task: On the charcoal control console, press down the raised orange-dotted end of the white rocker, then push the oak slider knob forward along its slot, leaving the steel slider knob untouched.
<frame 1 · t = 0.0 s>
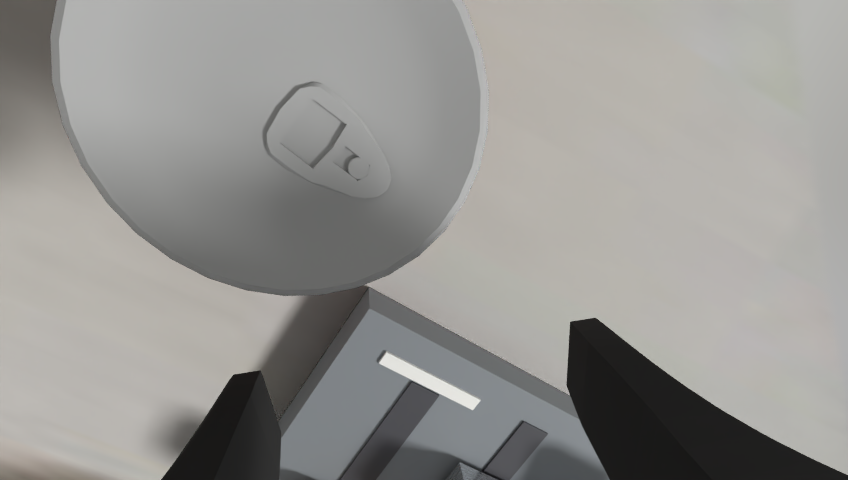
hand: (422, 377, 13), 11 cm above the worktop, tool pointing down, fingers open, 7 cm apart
canned food: (323, 74, 20), on the worktop
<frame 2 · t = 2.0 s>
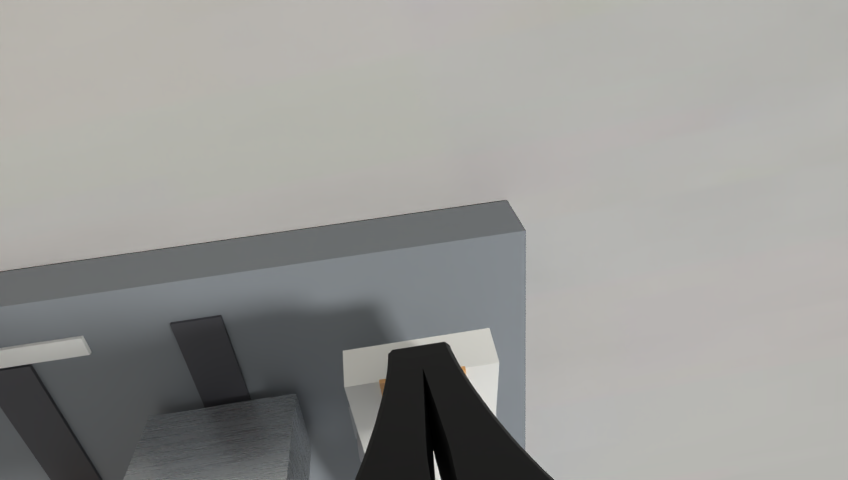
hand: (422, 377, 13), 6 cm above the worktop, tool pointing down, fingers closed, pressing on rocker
console: (256, 407, 20), on the worktop
rocker: (428, 436, 15), point 4 cm above the worktop, hinge at -13.9°, touching gripper
steel slider: (223, 475, 15), point 4 cm above the worktop, slide at 0.0 cm
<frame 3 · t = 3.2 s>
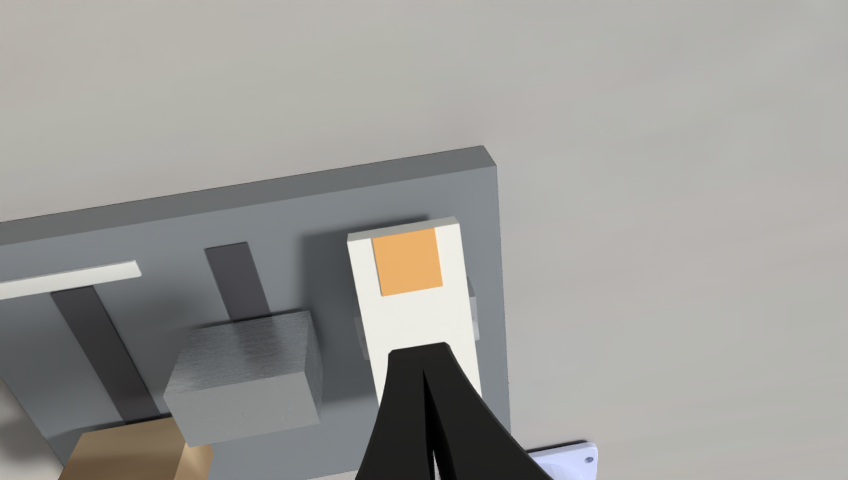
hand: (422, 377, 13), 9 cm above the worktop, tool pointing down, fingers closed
oak slider: (137, 477, 21), point 4 cm above the worktop, slide at 0.0 cm
console: (275, 334, 23), on the worktop
rocker: (420, 338, 19), point 4 cm above the worktop, hinge at 13.7°
steel slider: (252, 375, 19), point 4 cm above the worktop, slide at 0.0 cm
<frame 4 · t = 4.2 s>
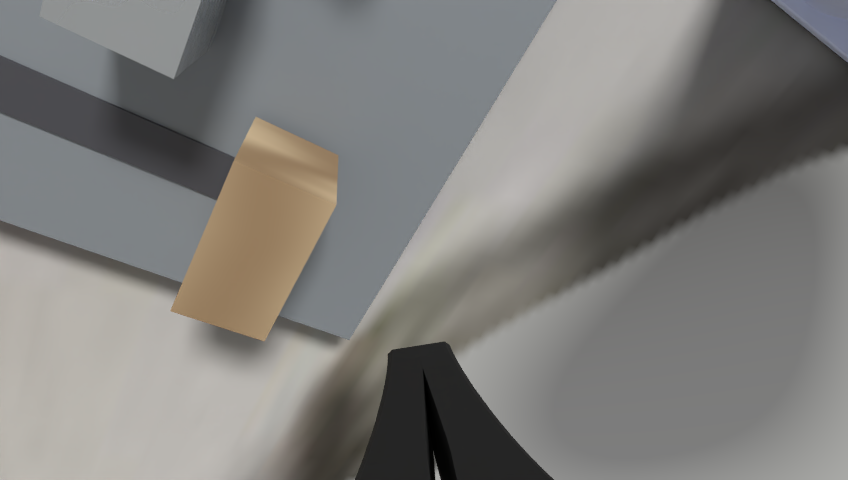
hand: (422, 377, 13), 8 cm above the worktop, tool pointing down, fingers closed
oak slider: (260, 227, 14), point 4 cm above the worktop, slide at 0.0 cm
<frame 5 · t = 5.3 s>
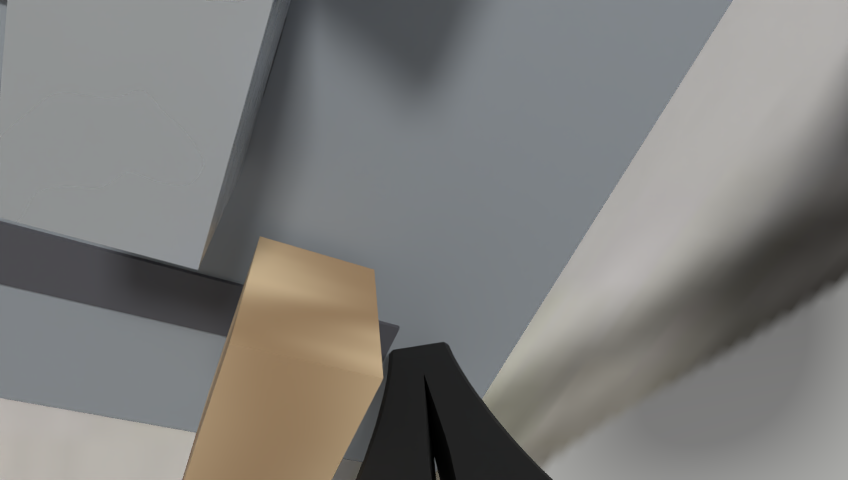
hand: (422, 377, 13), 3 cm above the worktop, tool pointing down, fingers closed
oak slider: (279, 387, 10), point 4 cm above the worktop, slide at 0.9 cm, touching gripper
console: (300, 44, 11), on the worktop
steel slider: (170, 52, 7), point 4 cm above the worktop, slide at 0.0 cm
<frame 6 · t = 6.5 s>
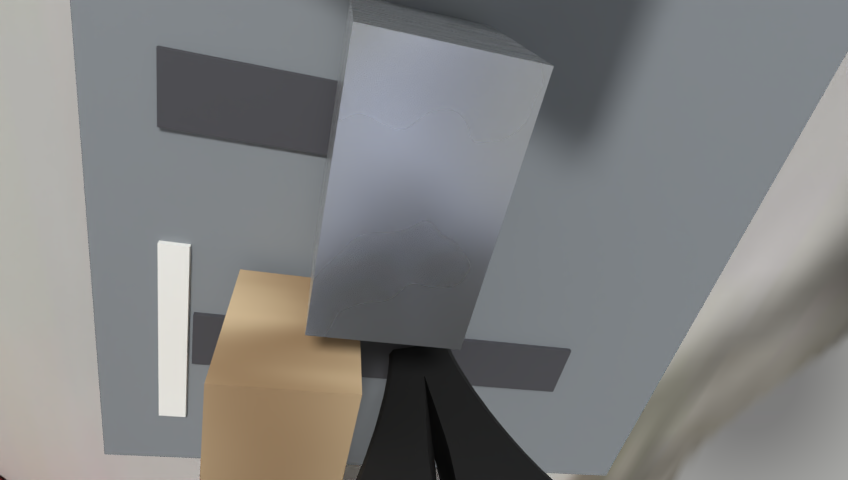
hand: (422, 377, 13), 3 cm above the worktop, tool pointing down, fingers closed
oak slider: (282, 411, 11), point 4 cm above the worktop, slide at 5.4 cm, touching gripper
console: (452, 113, 12), on the worktop
steel slider: (404, 169, 9), point 4 cm above the worktop, slide at 0.0 cm
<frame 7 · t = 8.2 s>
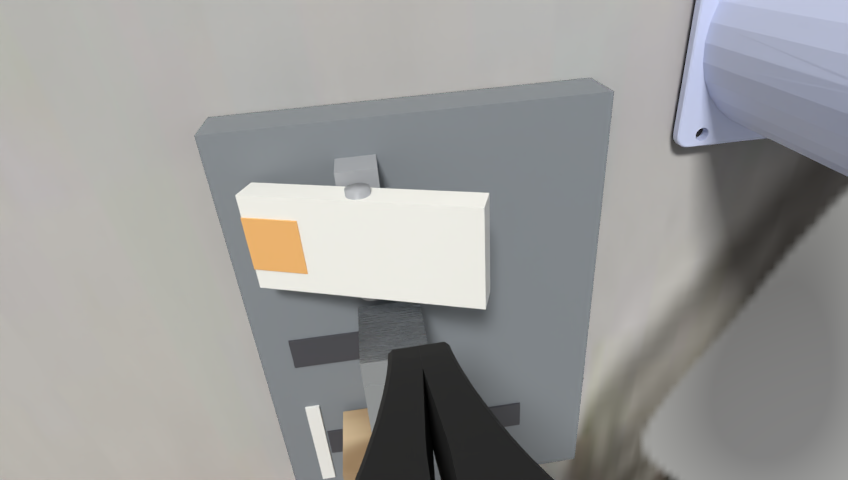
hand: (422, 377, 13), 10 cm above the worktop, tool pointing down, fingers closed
oak slider: (377, 471, 23), point 4 cm above the worktop, slide at 5.4 cm
console: (422, 306, 24), on the worktop
rocker: (364, 244, 17), point 4 cm above the worktop, hinge at 21.4°
steel slider: (397, 373, 21), point 4 cm above the worktop, slide at 0.0 cm
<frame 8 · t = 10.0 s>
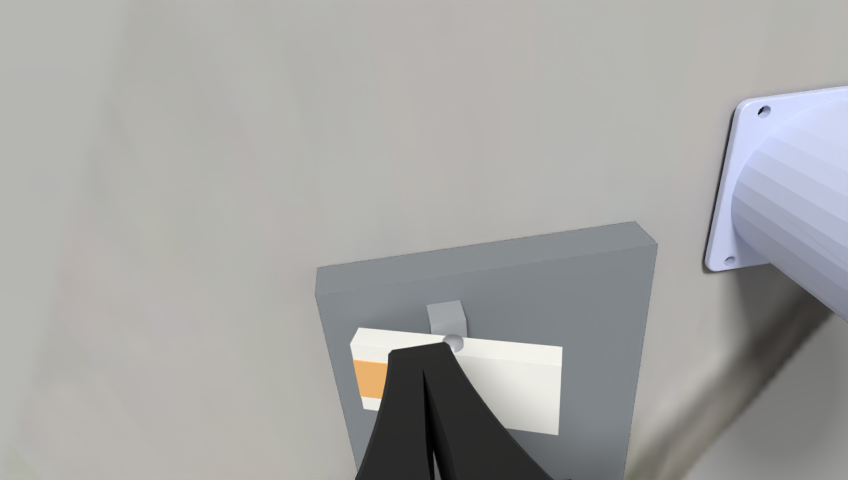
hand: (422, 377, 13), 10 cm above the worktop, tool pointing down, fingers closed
console: (486, 400, 28), on the worktop
rocker: (455, 380, 21), point 4 cm above the worktop, hinge at 21.4°
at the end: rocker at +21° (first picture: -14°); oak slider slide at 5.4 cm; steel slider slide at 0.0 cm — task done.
